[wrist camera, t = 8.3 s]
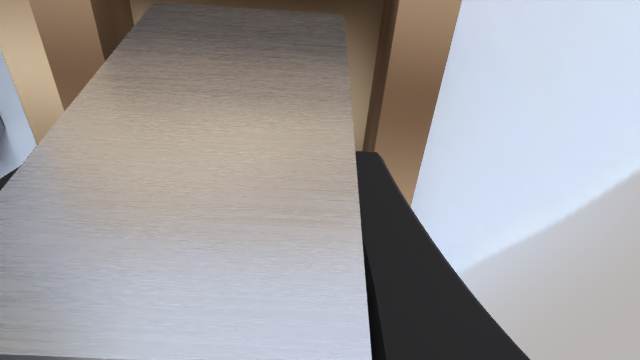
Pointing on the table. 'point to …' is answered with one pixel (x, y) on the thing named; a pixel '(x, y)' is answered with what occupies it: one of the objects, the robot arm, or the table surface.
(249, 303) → the brushed metal block
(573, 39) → the table surface
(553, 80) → the table surface
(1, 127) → the socket
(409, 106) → the rack board
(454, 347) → the robot arm
